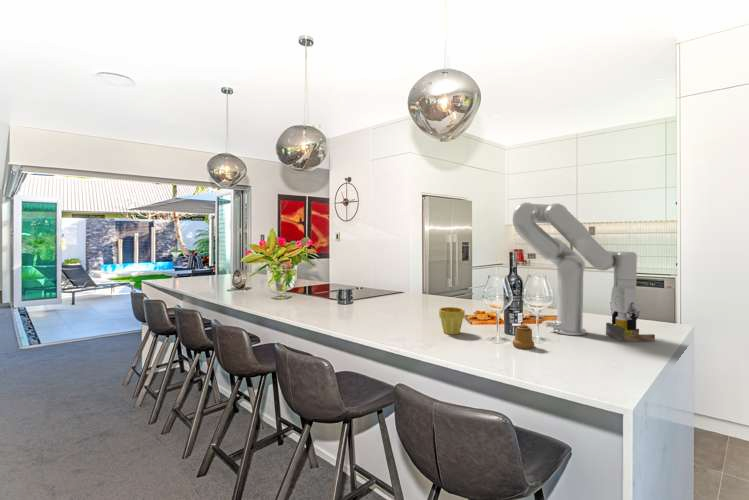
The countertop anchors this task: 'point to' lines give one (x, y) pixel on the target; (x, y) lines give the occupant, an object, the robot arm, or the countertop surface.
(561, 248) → the robot arm
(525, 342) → the ornamental finial
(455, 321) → the plant pot
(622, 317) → the supplement bottle
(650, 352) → the countertop surface
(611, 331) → the guide track
